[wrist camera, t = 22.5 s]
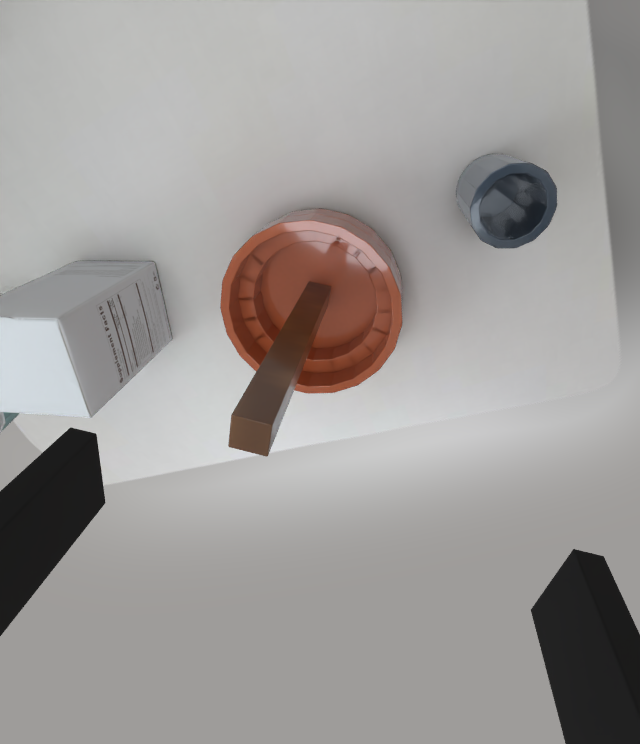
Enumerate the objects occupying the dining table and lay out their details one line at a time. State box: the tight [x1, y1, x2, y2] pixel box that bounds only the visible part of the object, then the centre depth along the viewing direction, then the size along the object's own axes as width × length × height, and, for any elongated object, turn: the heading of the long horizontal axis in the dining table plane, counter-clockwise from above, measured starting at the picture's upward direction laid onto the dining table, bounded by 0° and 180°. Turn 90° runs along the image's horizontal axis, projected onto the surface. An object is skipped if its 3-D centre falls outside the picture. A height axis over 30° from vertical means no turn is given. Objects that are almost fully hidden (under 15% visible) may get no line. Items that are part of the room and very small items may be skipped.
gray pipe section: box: [456, 154, 557, 248], centre depth 32 cm, size 5×5×9 cm
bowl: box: [221, 208, 402, 393], centre depth 40 cm, size 16×16×6 cm
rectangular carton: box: [0, 261, 172, 418], centre depth 40 cm, size 9×9×15 cm
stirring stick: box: [228, 281, 331, 456], centre depth 32 cm, size 2×2×22 cm
